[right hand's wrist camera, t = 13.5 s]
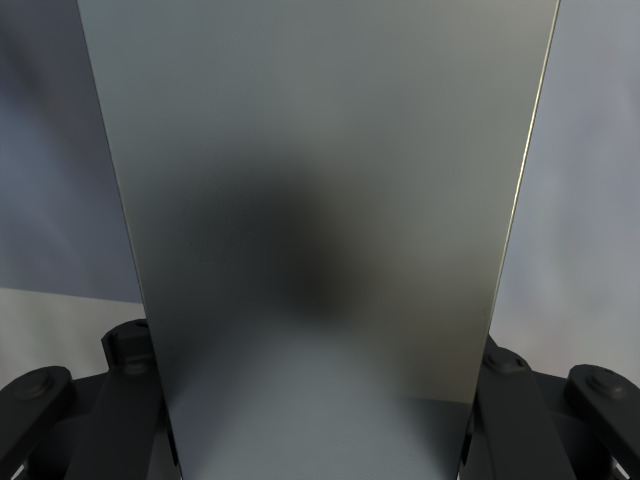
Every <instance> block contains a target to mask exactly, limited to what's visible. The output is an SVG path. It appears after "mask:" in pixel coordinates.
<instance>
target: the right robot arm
mask: <svg viewBox="0 0 640 480" xmlns="http://www.w3.org/2000/svg"><path fill="white" fill-rule="evenodd" d="M101 342H102V345H103V349H104V352H105V356H106V359H107V363H108V366H109V370H108V372H106V373H103V374H99V375H95V376H90V377H85V378H81V379H76V380H73V379H72V376H71V373H70V371H69V370H68V369H66V368H65V367H61V366H50V367H43V368H39V369H37V370H33V371H30V372H28V373H26V374H24V375H22V376H20V377H18V378H16V379H15V380H13V381H12V382H11V383H9V384H8V385H7V386H5V387H4V388H3V389H2V390H1V391H0V480H11V478H12V476H13V475H14V474H15V473H16V471H17V470H18V469H19V468H20V466H21V465H22V464H23V466H24V469H23V470H22V471H21V472H20V474H19V475H18V476H17V477H16V478H15V479H14V480H180V479H181V473H180V468H179V464H178V459H177V455H176V450H175V446H174V441H173V437H172V432H171V427H170V423H169V418H168V414H167V409H166V405H165V400H164V396H163V391H162V387H161V382H160V378H159V373H158V369H157V364H156V360H155V355H154V351H153V346H152V341H151V337H150V332H149V328H148V323H147V319H137V320H133V321H128V322H125V323H123V324H121V325H118V326H116V327H115V328H113V329H112V330H110V331H109V332H107V333H106V334H105V336H104V337H103V338H102V339H101ZM617 463H619V464H620V466H621V467H622V468H623V469H624V471H625V472H626V473H627V474H628V476H629V477H630V478H629V479H626V478H625V477H624V475H623V474H622V473H621V472H620V471H619V470H618V468H617V467H616V465H617ZM459 478H460V480H640V389H639V388H638V387H637V386H636V385H634V384H633V383H632V382H630V381H629V380H628V379H626V378H625V377H623V376H621V375H619V374H617V373H615V372H613V371H611V370H609V369H606V368H603V367H599V366H594V365H587V364H583V365H575V366H574V367H573V368H572V369H570V372H569V375H568V378H567V379H566V378H561V377H557V376H552V375H547V374H543V373H539V372H535V371H532V370H531V368H530V366H529V365H528V363H527V362H526V361H525V360H524V359H523V358H522V357H520V356H519V355H518V354H516V353H514V352H512V351H510V350H508V349H505V348H502V347H498V346H497V344H496V343H495V342H494V340H493V339H492V338H491V336H490V335H489V334H488V338H487V343H486V348H485V352H484V357H483V361H482V366H481V371H480V375H479V380H478V385H477V389H476V394H475V398H474V403H473V408H472V412H471V417H470V421H469V426H468V431H467V435H466V440H465V445H464V449H463V454H462V458H461V463H460V468H459Z"/></svg>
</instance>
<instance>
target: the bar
mask: <svg viewBox="0 0 640 480" xmlns="http://www.w3.org/2000/svg"><path fill="white" fill-rule="evenodd" d="M560 1H561V0H76V2H77V6H78V11H79V15H80V20H81V25H82V29H83V34H84V38H85V43H86V47H87V52H88V56H89V61H90V65H91V70H92V74H93V79H94V83H95V88H96V92H97V97H98V101H99V106H100V111H101V115H102V120H103V124H104V129H105V133H106V138H107V142H108V147H109V151H110V156H111V160H112V165H113V169H114V174H115V178H116V183H117V188H118V192H119V197H120V201H121V206H122V210H123V215H124V219H125V224H126V228H127V233H128V237H129V242H130V246H131V251H132V255H133V260H134V264H135V269H136V274H137V278H138V283H139V287H140V292H141V296H142V301H143V305H144V310H145V314H146V319H147V323H148V328H149V332H150V337H151V341H152V346H153V351H154V355H155V360H156V364H157V369H158V373H159V378H160V382H161V387H162V391H163V396H164V400H165V405H166V409H167V414H168V418H169V423H170V427H171V432H172V437H173V441H174V446H175V450H176V455H177V459H178V464H179V468H180V473H181V477H182V480H457V477H458V472H459V468H460V463H461V458H462V454H463V449H464V445H465V440H466V435H467V431H468V426H469V421H470V417H471V412H472V408H473V403H474V398H475V394H476V389H477V385H478V380H479V375H480V371H481V366H482V361H483V357H484V352H485V348H486V343H487V338H488V334H489V329H490V324H491V320H492V315H493V311H494V306H495V301H496V297H497V292H498V288H499V283H500V278H501V274H502V269H503V264H504V260H505V255H506V251H507V246H508V241H509V237H510V232H511V227H512V223H513V218H514V214H515V209H516V204H517V200H518V195H519V191H520V186H521V181H522V177H523V172H524V167H525V163H526V158H527V154H528V149H529V144H530V140H531V135H532V130H533V126H534V121H535V117H536V112H537V107H538V103H539V98H540V94H541V89H542V84H543V80H544V75H545V70H546V66H547V61H548V57H549V52H550V47H551V43H552V38H553V33H554V29H555V24H556V20H557V15H558V10H559V6H560Z"/></svg>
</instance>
